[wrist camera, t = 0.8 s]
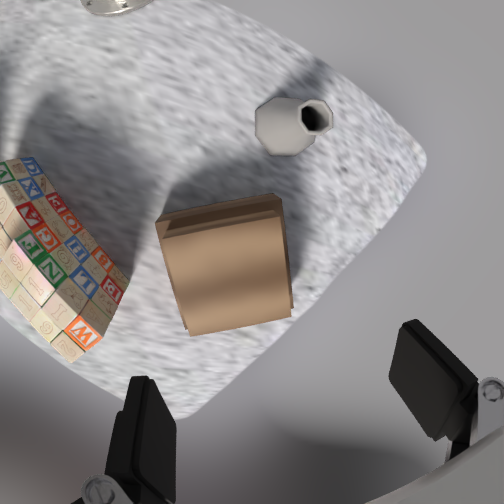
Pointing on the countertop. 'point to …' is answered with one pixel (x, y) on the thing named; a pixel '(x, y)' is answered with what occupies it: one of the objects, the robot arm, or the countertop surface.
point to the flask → (291, 124)
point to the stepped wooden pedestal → (228, 263)
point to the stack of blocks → (53, 263)
